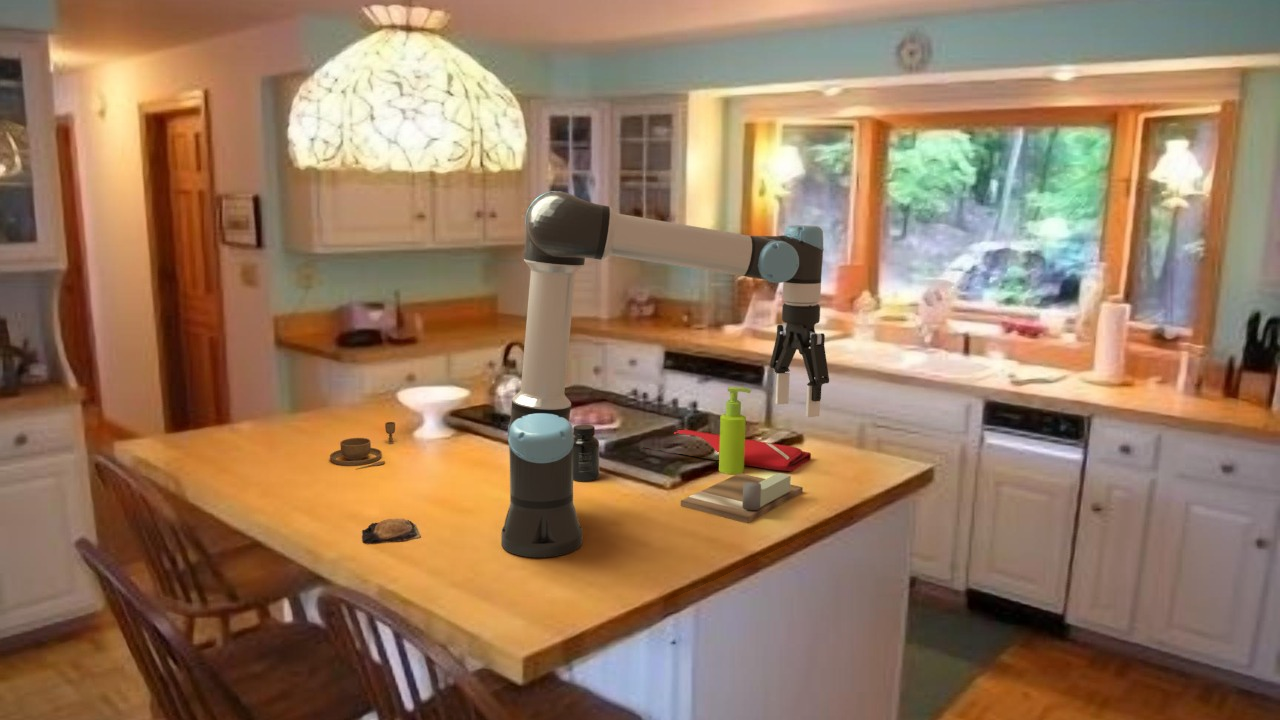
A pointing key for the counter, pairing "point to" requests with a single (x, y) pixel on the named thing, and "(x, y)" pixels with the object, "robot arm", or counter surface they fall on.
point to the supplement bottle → (585, 453)
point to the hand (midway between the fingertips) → (796, 409)
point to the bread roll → (390, 531)
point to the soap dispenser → (732, 435)
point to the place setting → (360, 450)
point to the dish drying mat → (761, 452)
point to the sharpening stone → (765, 491)
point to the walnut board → (733, 499)
